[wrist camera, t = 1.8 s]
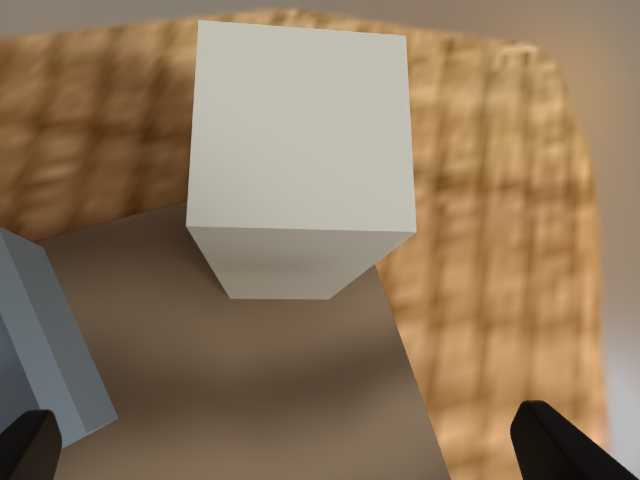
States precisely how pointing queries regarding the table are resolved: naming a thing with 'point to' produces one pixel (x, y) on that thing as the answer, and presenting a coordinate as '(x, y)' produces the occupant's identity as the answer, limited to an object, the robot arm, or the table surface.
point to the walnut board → (234, 369)
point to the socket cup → (44, 347)
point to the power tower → (298, 157)
